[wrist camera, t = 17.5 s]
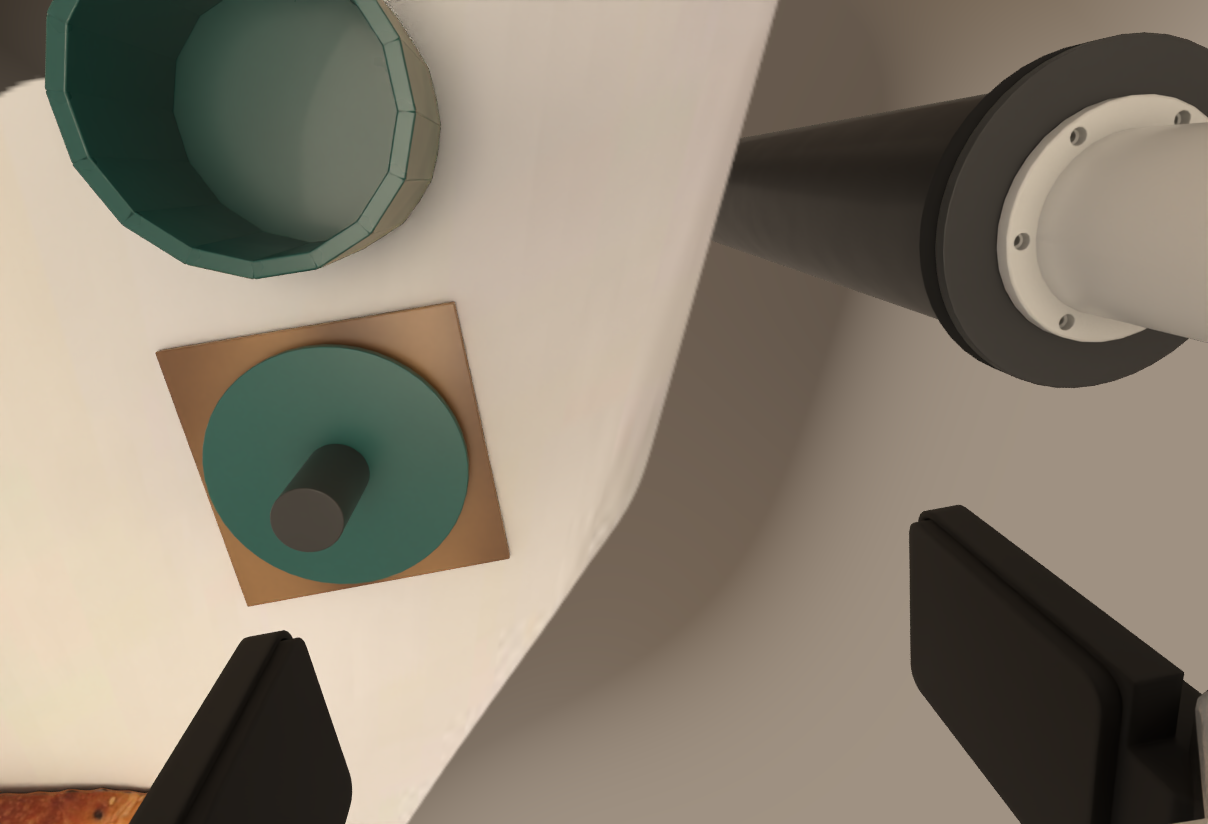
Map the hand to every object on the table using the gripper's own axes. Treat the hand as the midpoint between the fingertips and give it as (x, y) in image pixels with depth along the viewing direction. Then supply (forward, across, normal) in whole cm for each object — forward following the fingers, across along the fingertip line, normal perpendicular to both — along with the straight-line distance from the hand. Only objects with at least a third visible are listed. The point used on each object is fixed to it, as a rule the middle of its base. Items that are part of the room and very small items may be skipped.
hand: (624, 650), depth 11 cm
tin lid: (+27, +13, +6) cm, 31 cm away
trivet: (+28, +12, +6) cm, 32 cm away
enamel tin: (+28, +10, -11) cm, 32 cm away
